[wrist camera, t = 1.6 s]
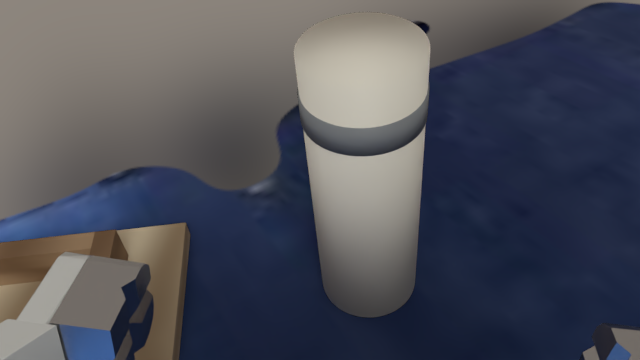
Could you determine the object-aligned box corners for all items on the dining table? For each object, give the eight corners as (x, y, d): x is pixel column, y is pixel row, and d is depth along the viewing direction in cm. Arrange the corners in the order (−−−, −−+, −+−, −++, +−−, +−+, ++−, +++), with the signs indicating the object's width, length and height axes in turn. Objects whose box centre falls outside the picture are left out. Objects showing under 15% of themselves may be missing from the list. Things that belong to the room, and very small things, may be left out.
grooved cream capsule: (406, 235, 30) (416, 4, 21) (425, 312, 27) (446, 79, 18) (317, 245, 30) (289, 19, 21) (325, 323, 27) (296, 96, 18)
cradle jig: (190, 234, 32) (176, 196, 29) (168, 471, 23) (146, 441, 21) (-72, 264, 31) (-105, 228, 29) (-190, 513, 23) (-249, 487, 21)
